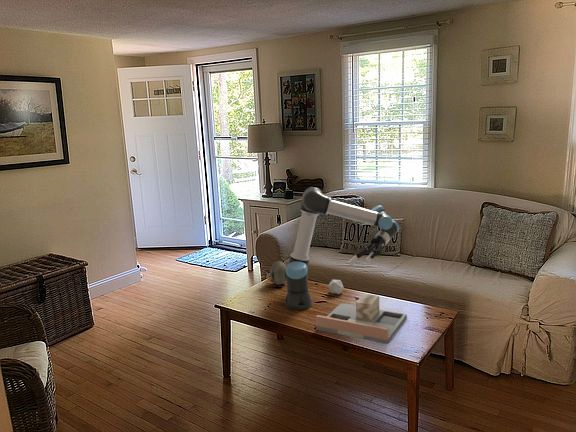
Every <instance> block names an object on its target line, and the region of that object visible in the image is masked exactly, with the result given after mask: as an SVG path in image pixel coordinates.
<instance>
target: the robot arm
mask: <svg viewBox="0 0 576 432" xmlns="http://www.w3.org/2000/svg"><path fill="white" fill-rule="evenodd" d="M299 210H300V212H301V215H300V216H301V217H300V221H299V226H298V229H297V235H296V239H295V244H294V247H293V252H292V253H291V252H290V254H289V259H288V262H287V265H286V278H287V281H286V295H285V300H284V306H285V308H287V309H289V310H291V311H292V310H293V311H301V310H307V309H309V308H311V307H312V305H313V299H312V297H311V294H310V292H309V283H308V282H309V279H308V268H309V265H310V260H311V258H310V256H309V253H310V247H311V244H312V238H313V235H314V232H315V231H314V230H315V227H316V221H317V217H318V216H319V215H325V216H327V215H328V214H329V215H331V216H332V215H333V216H337V217H341V218H344V219H347V220H351V221H355V222H359V223H363V224H367V225H370V226H374V227H378V228H379V229H380V230H379V231H378V232H377V233H376V234H375V235H374V236H373V237H372V238H371V240H370V243H369V244H368V245H367V244H365V245H364V246H363V247H361V248H360V249H359V250H357V251H356V252H355V253H353V254H352V256H353V257H352V258H351V259H350V260H348V262H347V263H348V264H349V266H350V267H353V265H355V264H356V262H358V260H359V259H360V258H362V257H363V256H364V255H367V254H369V255H367V257H366V258H364V261H365V262H366V264H368V265H369V264H370V263H371V262H372V260H374V258H375V257H377V256H380V255H381V254H382V251H383V250H384V248H385V246H386V245H387V244H388V242H389V241H391V240H392V238H393V237H395V236H396V235H397V233H398V232H399V231H400V229H401V227H400V224H399V223H398V222H397V221H395V220H394V219H392V217H391V216H390V215H389V214H388V213H387V211H386V210H385V208H384V207H383V205H380V204H379V205H375V206H374V207H373V208H372V209H367V208H364V207H360V206H356V205H352V204H348V203H345V202H342V201H337V200H334V199H332V198H331V196H330V197H329V196H326V195H324V193H323V191H322V189H320V188H318V187H313V186H310V187H307V188H306V189H305V190H304V191H303V193H302V199H301V204H300V208H299Z"/></svg>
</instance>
